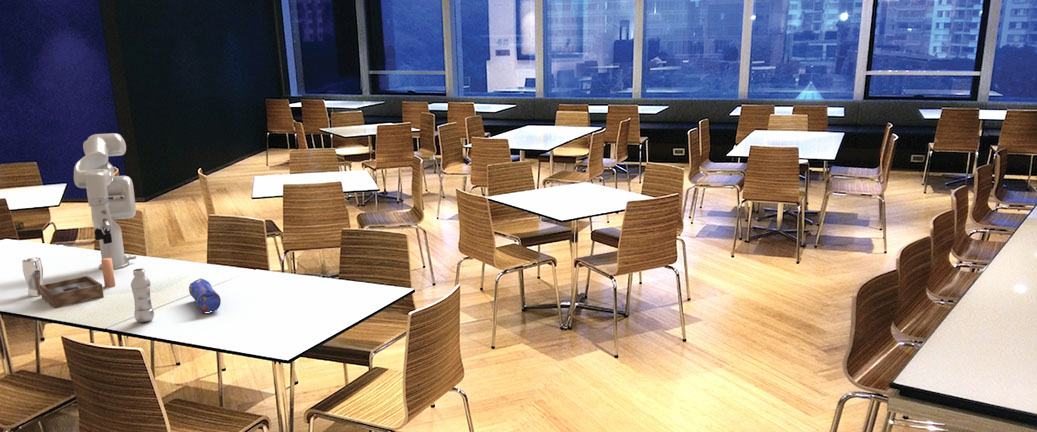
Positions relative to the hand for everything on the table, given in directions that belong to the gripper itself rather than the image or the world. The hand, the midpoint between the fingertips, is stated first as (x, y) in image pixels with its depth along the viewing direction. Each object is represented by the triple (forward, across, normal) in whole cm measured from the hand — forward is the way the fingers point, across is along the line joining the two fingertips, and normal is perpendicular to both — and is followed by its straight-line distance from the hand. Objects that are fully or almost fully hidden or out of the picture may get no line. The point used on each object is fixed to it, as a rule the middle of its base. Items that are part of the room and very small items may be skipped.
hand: (103, 241), depth 330 cm
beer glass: (+20, +12, +25) cm, 34 cm away
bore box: (+20, -4, +16) cm, 26 cm away
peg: (+20, +1, 0) cm, 20 cm away
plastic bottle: (+21, -55, +6) cm, 59 cm away
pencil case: (+21, -56, -17) cm, 62 cm away
